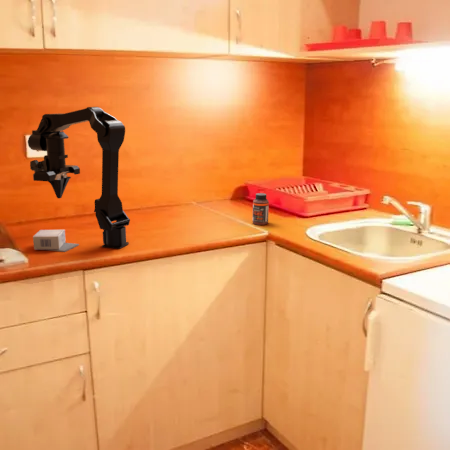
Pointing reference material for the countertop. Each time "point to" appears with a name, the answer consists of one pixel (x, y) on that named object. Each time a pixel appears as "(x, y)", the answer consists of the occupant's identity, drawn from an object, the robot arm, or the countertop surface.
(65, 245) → the mat
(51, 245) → the medicine box
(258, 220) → the supplement bottle
